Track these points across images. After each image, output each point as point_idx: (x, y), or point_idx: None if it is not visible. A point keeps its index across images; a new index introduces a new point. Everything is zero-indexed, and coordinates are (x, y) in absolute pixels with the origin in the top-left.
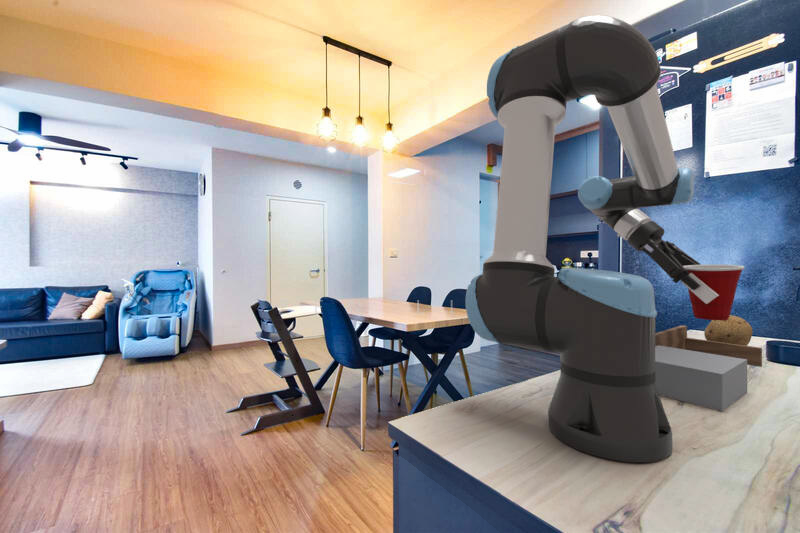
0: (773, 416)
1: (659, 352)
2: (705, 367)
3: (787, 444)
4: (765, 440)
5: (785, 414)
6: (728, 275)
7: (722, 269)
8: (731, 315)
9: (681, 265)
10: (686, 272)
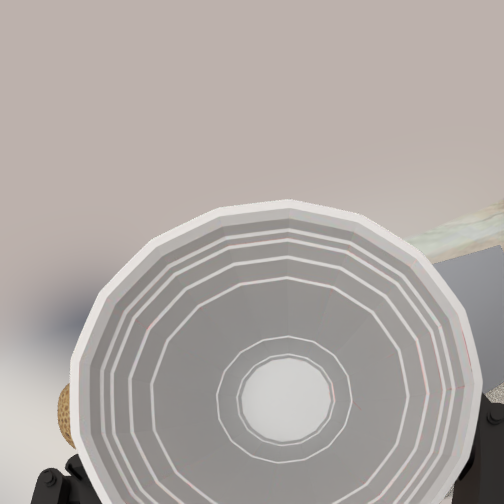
0: (442, 240)
1: (492, 362)
2: (498, 270)
3: (480, 212)
4: (489, 222)
5: (425, 237)
6: (355, 263)
7: (412, 251)
8: (68, 411)
9: (493, 475)
10: (501, 404)
